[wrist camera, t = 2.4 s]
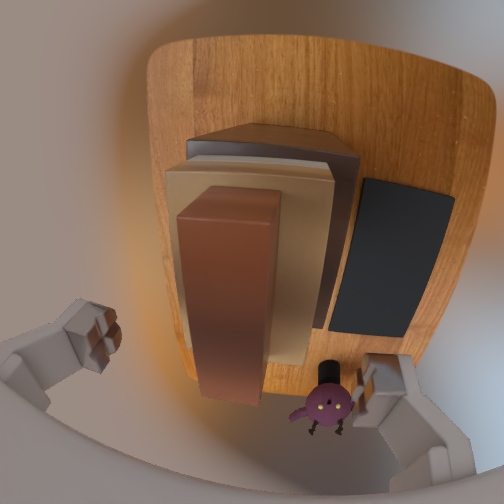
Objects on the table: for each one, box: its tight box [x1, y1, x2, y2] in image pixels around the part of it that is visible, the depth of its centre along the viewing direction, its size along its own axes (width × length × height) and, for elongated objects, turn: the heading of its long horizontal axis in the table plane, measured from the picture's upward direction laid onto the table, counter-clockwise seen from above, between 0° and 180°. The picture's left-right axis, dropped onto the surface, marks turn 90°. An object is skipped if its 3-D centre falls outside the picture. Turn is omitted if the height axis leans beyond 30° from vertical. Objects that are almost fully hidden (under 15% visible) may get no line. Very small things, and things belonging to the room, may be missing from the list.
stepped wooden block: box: [165, 155, 335, 406], centre depth 12 cm, size 9×6×6 cm, turn 179°
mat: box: [328, 178, 455, 338], centre depth 31 cm, size 20×11×1 cm, turn 176°
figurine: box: [289, 360, 355, 435], centre depth 35 cm, size 8×8×12 cm
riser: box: [187, 123, 360, 329], centre depth 22 cm, size 10×8×16 cm
